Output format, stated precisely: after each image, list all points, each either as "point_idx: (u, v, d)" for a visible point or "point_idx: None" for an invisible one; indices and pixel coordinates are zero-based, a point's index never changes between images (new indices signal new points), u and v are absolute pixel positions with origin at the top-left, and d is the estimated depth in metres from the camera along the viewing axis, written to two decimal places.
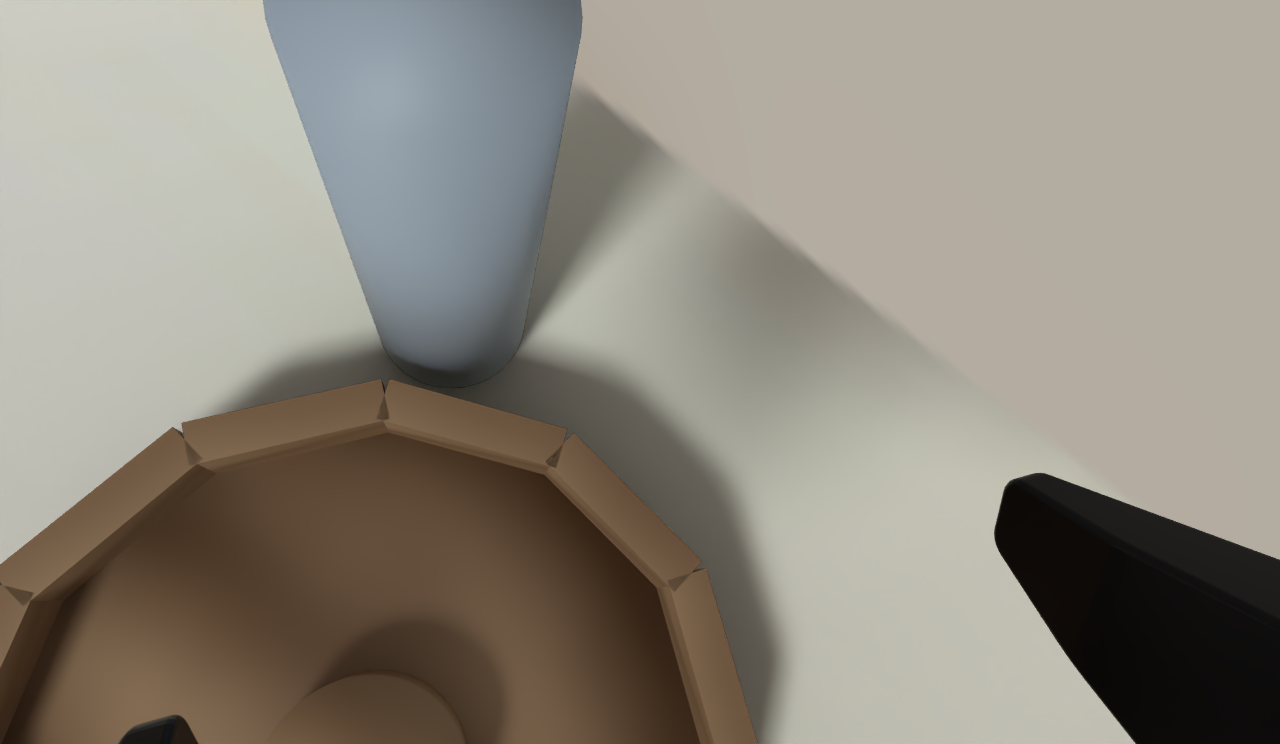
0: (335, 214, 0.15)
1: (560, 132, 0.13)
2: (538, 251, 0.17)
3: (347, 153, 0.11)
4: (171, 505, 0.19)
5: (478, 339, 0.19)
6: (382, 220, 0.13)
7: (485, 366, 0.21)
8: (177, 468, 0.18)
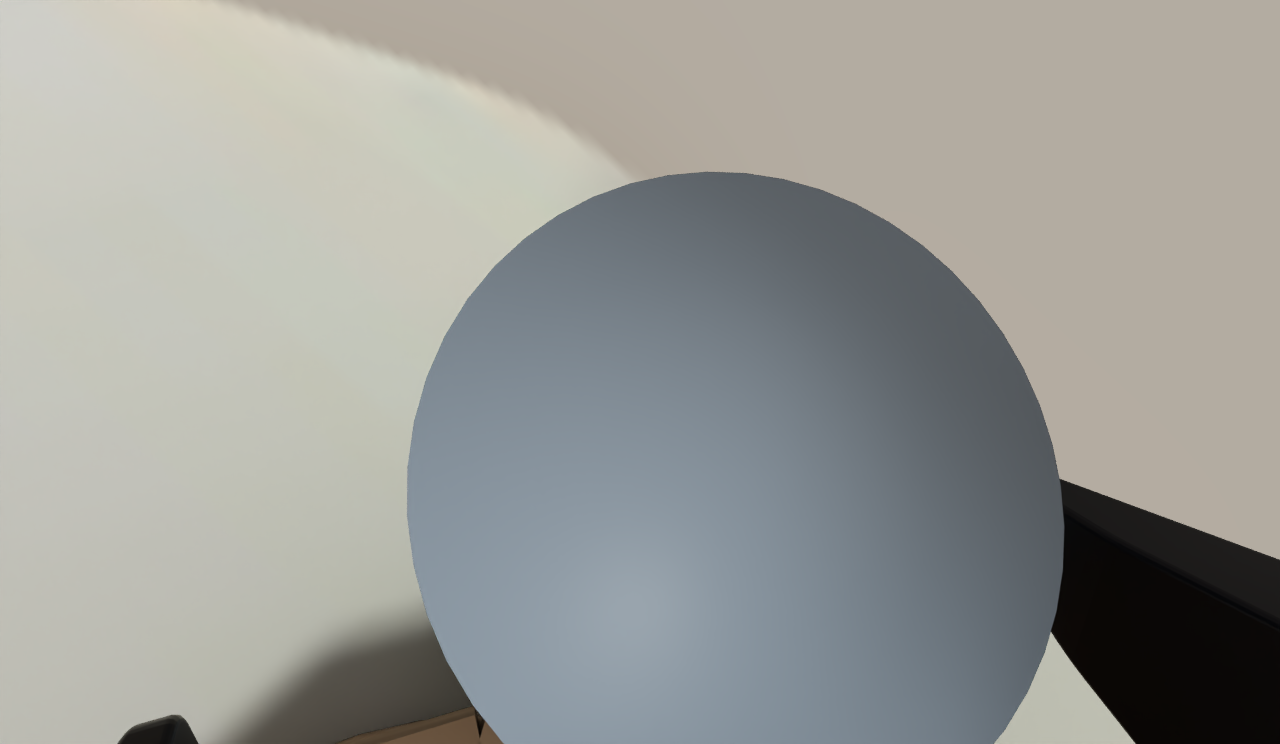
0: None
1: None
2: None
3: None
4: None
5: None
6: None
7: None
8: None
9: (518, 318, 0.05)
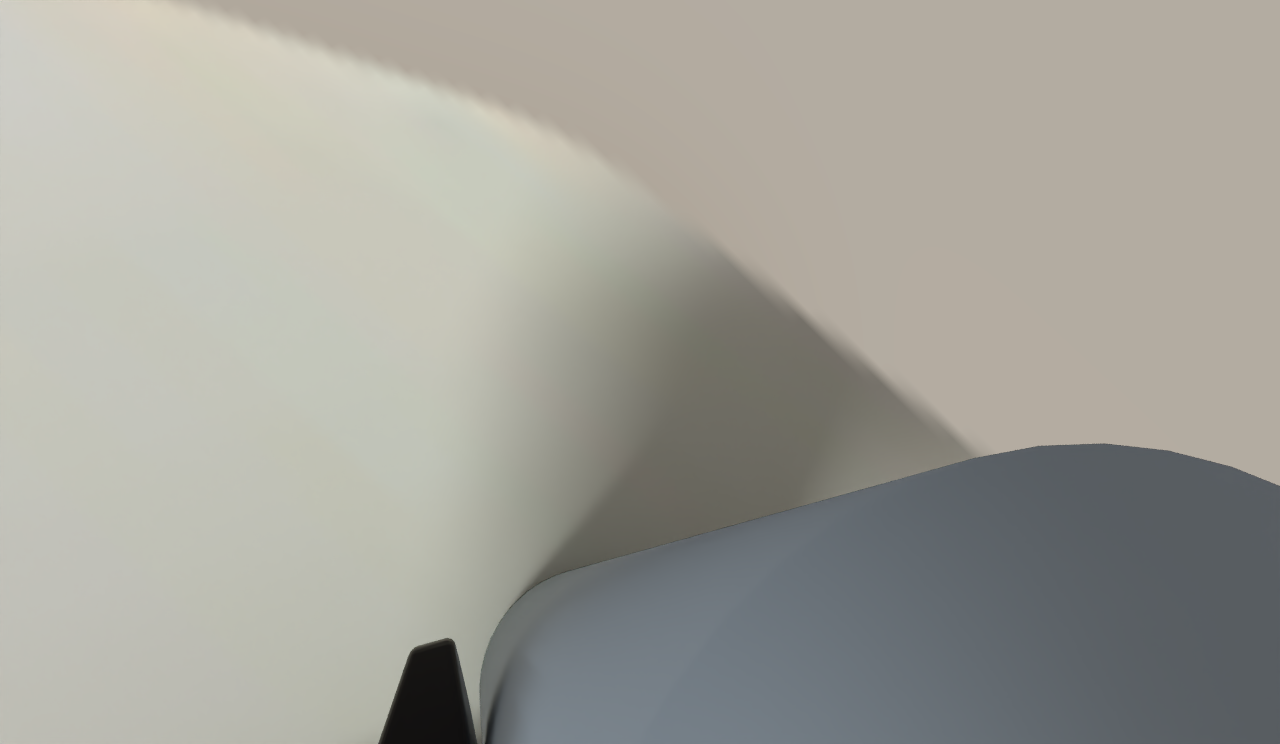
0: None
1: None
2: None
3: None
4: None
5: None
6: None
7: None
8: None
9: None
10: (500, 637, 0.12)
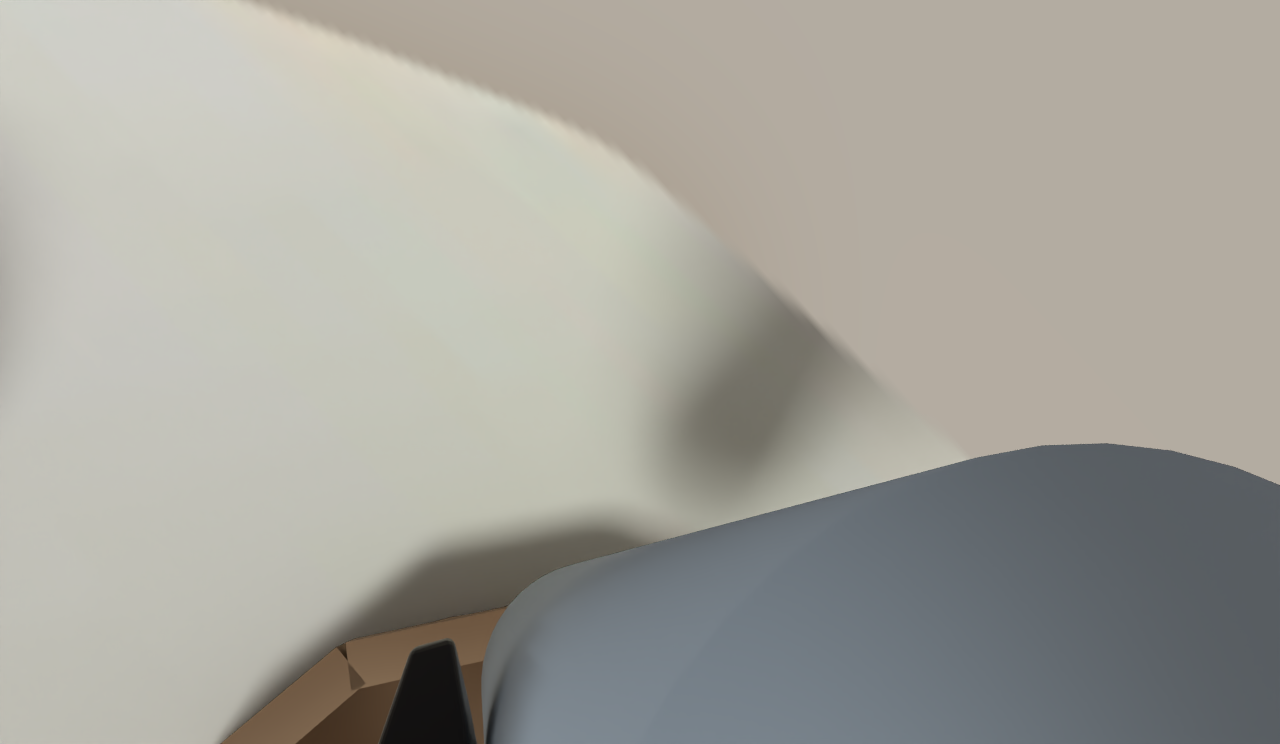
0: None
1: None
2: None
3: None
4: (323, 719, 0.19)
5: None
6: None
7: None
8: (339, 693, 0.18)
9: None
10: (502, 631, 0.12)
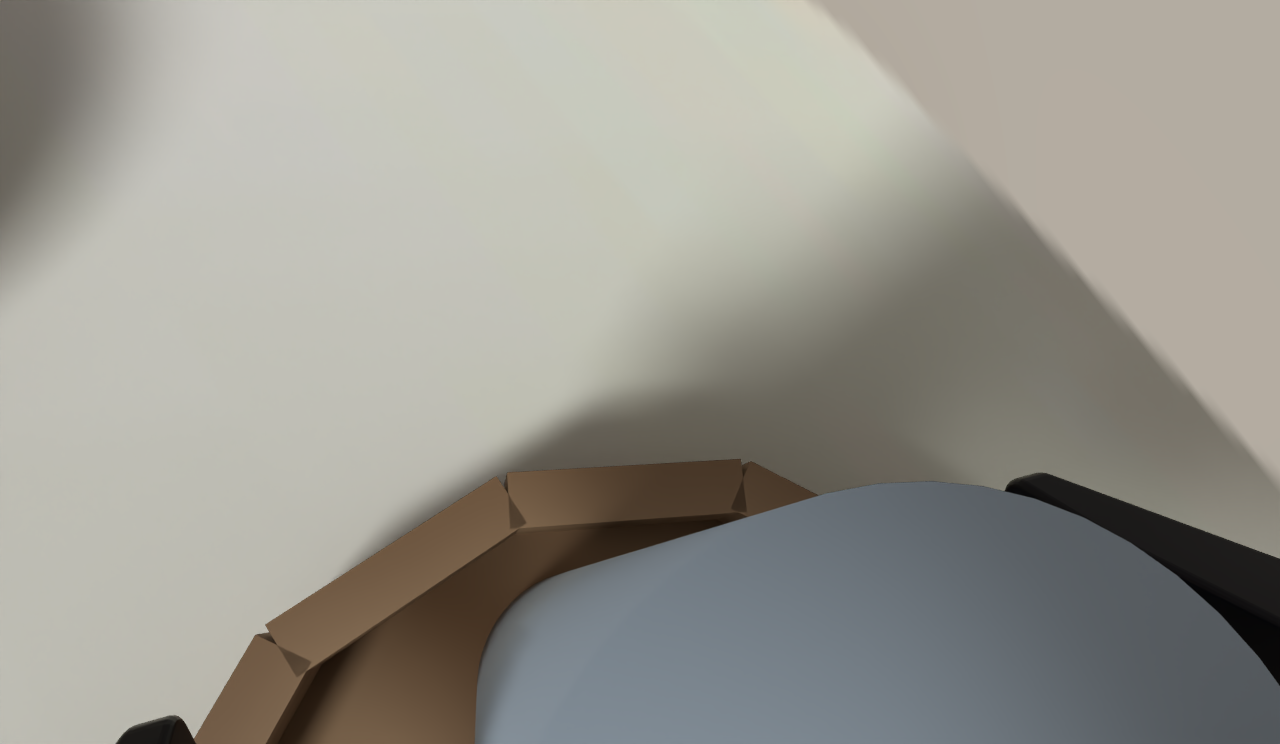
0: None
1: None
2: None
3: None
4: (464, 568, 0.15)
5: None
6: None
7: None
8: (496, 530, 0.15)
9: None
10: (494, 635, 0.13)
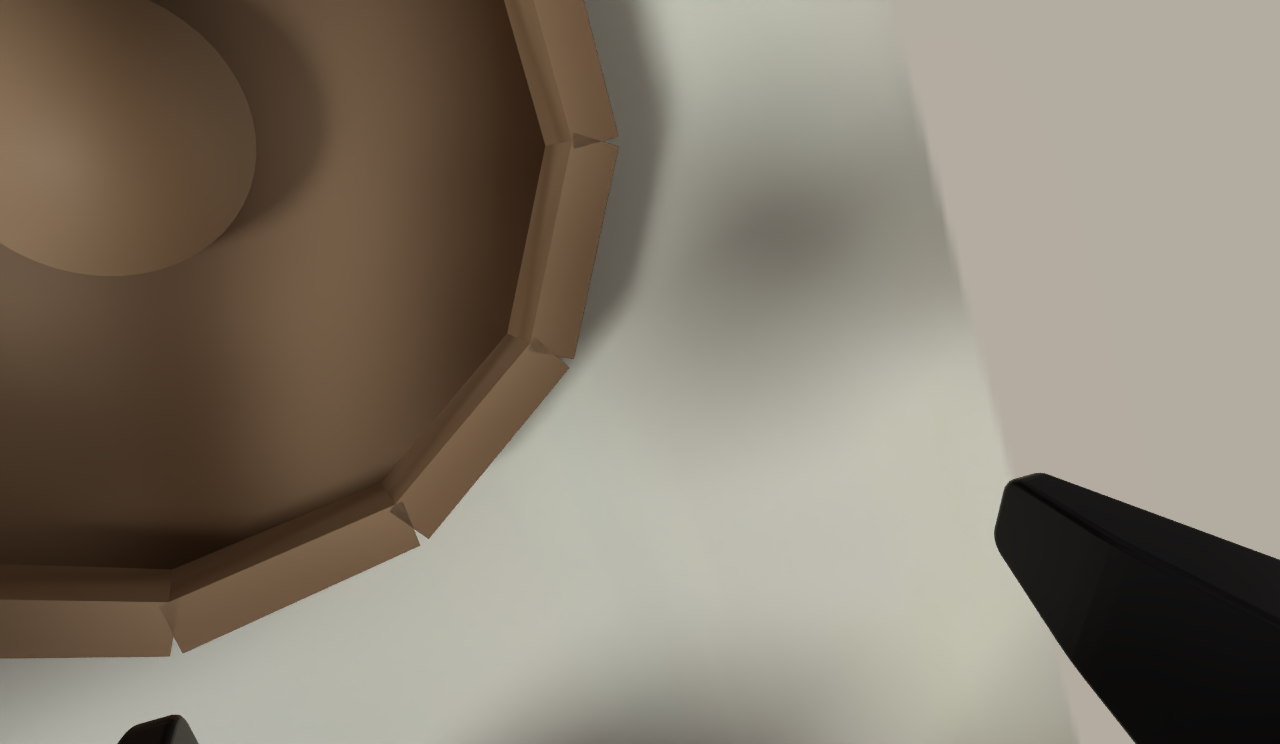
0: None
1: None
2: None
3: None
4: None
5: None
6: None
7: None
8: None
9: None
10: None
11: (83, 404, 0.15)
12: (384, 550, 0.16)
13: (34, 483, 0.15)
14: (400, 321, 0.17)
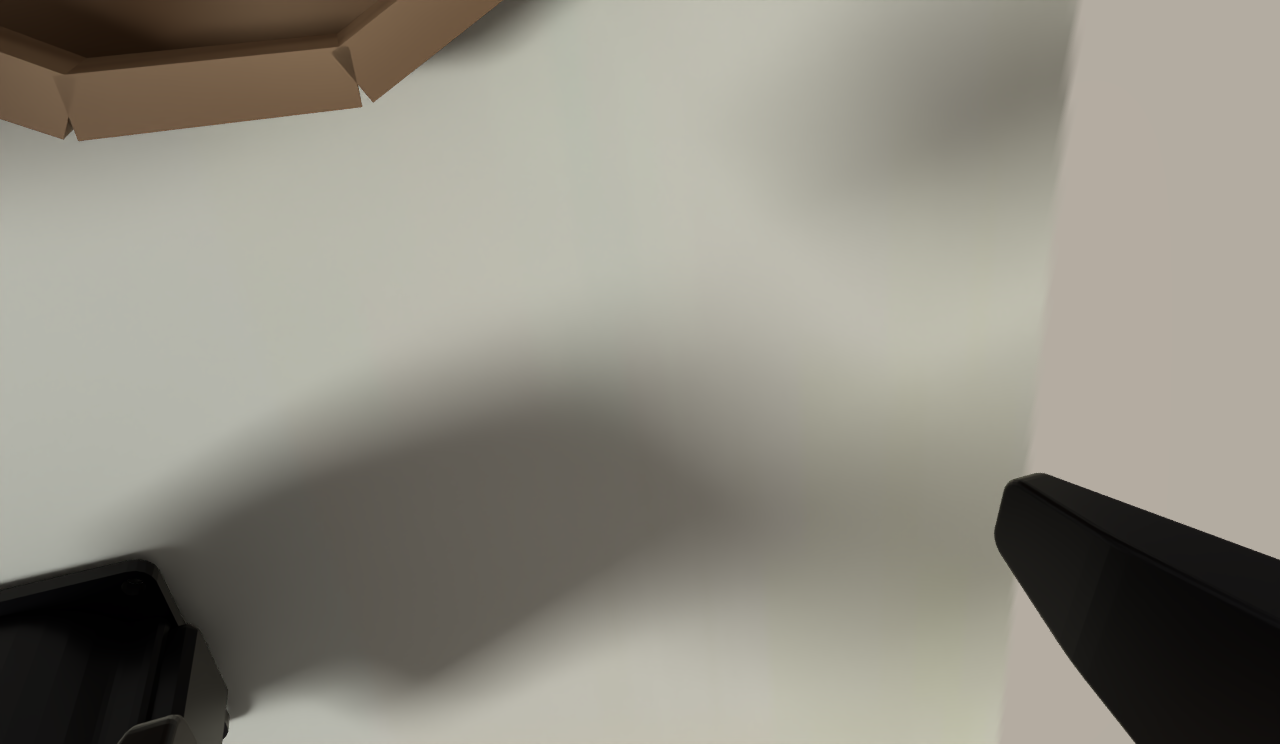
0: None
1: None
2: None
3: None
4: None
5: None
6: None
7: None
8: None
9: None
10: None
11: None
12: (320, 98, 0.14)
13: None
14: None
